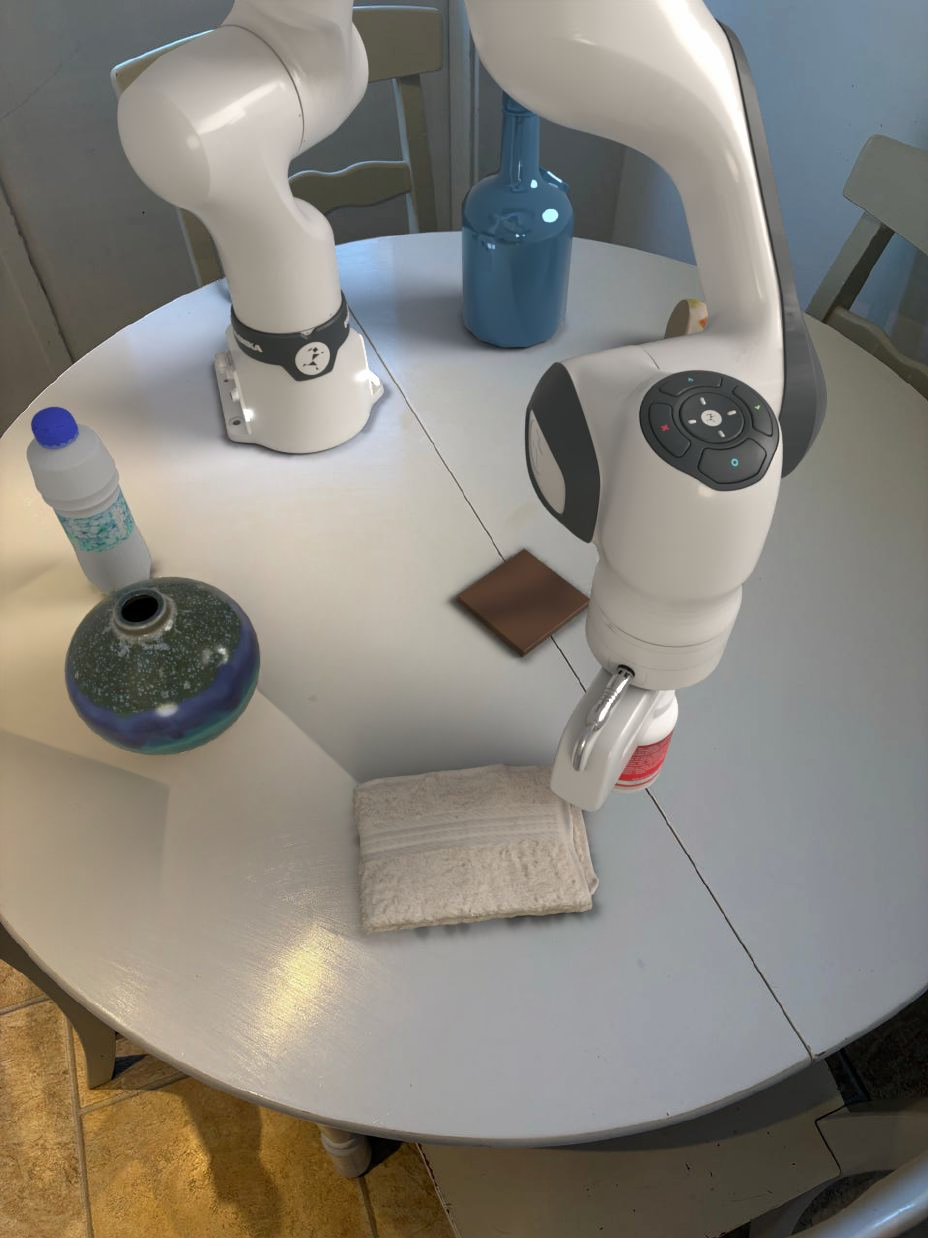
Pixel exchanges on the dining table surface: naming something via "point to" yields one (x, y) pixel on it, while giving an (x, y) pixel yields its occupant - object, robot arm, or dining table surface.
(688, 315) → the mug
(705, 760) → the dining table surface
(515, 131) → the wine bottle
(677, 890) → the dining table surface
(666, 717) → the pill bottle
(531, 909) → the washcloth
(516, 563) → the coaster
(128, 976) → the dining table surface
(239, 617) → the vase
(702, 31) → the robot arm
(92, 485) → the bottle
